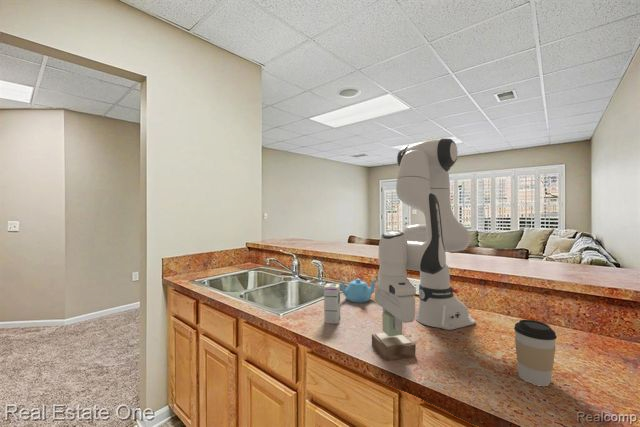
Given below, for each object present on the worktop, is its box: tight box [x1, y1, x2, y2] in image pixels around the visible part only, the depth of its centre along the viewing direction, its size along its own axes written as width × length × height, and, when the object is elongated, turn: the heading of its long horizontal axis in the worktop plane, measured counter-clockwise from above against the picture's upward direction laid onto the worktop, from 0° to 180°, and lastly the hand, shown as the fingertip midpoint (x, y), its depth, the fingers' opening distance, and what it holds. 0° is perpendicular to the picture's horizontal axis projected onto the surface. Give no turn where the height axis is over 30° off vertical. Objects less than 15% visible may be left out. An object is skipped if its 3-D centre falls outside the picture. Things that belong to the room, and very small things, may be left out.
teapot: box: [339, 278, 378, 304], centre depth 143 cm, size 15×15×10 cm
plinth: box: [371, 332, 417, 361], centre depth 92 cm, size 10×10×4 cm
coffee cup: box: [513, 319, 558, 386], centre depth 76 cm, size 9×9×15 cm
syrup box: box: [323, 282, 341, 325], centre depth 116 cm, size 6×6×14 cm
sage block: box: [381, 311, 403, 336], centre depth 91 cm, size 4×4×6 cm
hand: (392, 326), depth 91 cm, fingers closed on sage block, 4 cm apart
